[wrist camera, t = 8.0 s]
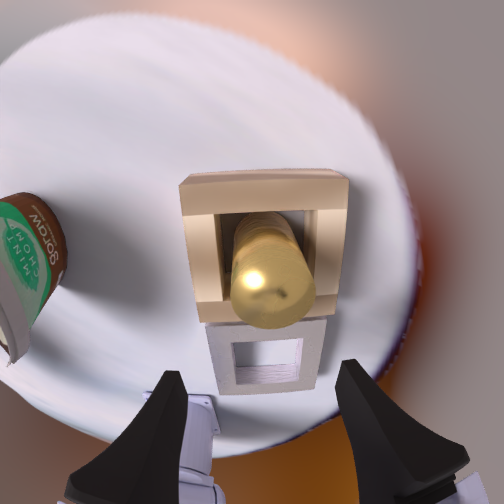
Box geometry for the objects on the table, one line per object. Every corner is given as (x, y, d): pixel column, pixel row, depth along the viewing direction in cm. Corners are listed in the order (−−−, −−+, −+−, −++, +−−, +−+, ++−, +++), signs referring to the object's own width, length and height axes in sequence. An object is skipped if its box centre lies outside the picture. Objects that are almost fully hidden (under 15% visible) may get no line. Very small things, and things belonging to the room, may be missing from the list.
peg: (291, 262, 20) (312, 325, 14) (236, 265, 20) (234, 331, 13) (292, 208, 18) (318, 255, 12) (231, 212, 18) (226, 261, 12)
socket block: (310, 372, 25) (314, 389, 23) (220, 377, 25) (219, 395, 23) (320, 302, 21) (327, 319, 19) (208, 308, 21) (205, 326, 19)
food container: (105, 270, 20) (43, 359, 11) (66, 296, 21) (12, 373, 12) (30, 147, 15) (-65, 179, 6) (-1, 190, 16) (-78, 233, 7)
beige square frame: (322, 286, 21) (334, 314, 18) (205, 292, 21) (199, 322, 18) (329, 168, 17) (348, 179, 14) (190, 174, 17) (178, 185, 14)
